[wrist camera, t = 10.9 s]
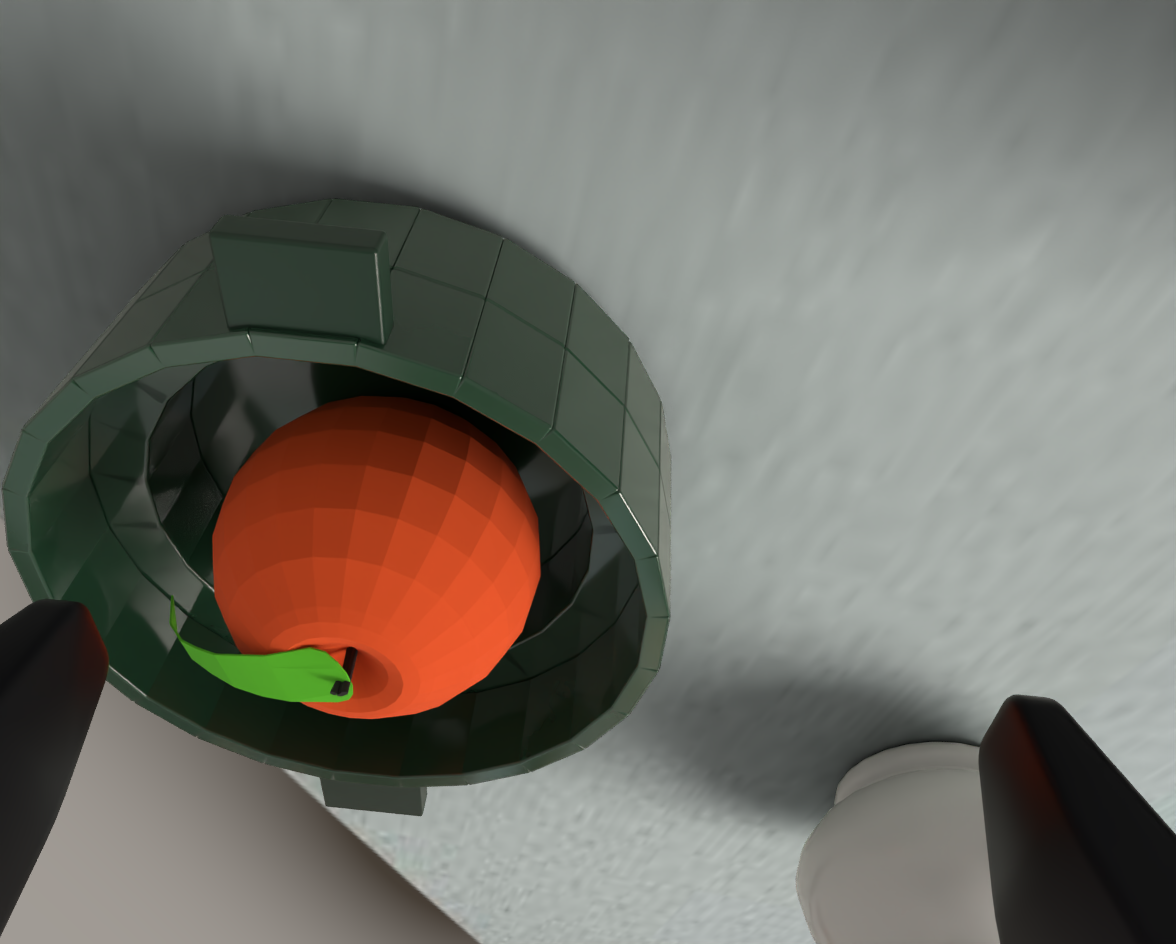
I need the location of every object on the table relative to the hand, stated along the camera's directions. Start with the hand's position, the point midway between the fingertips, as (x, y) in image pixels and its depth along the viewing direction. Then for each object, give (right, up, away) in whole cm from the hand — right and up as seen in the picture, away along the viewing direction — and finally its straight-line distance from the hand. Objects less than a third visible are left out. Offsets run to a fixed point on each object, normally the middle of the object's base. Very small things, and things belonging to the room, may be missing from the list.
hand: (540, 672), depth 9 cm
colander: (-4, +3, +14) cm, 15 cm away
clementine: (-4, +2, +14) cm, 15 cm away
